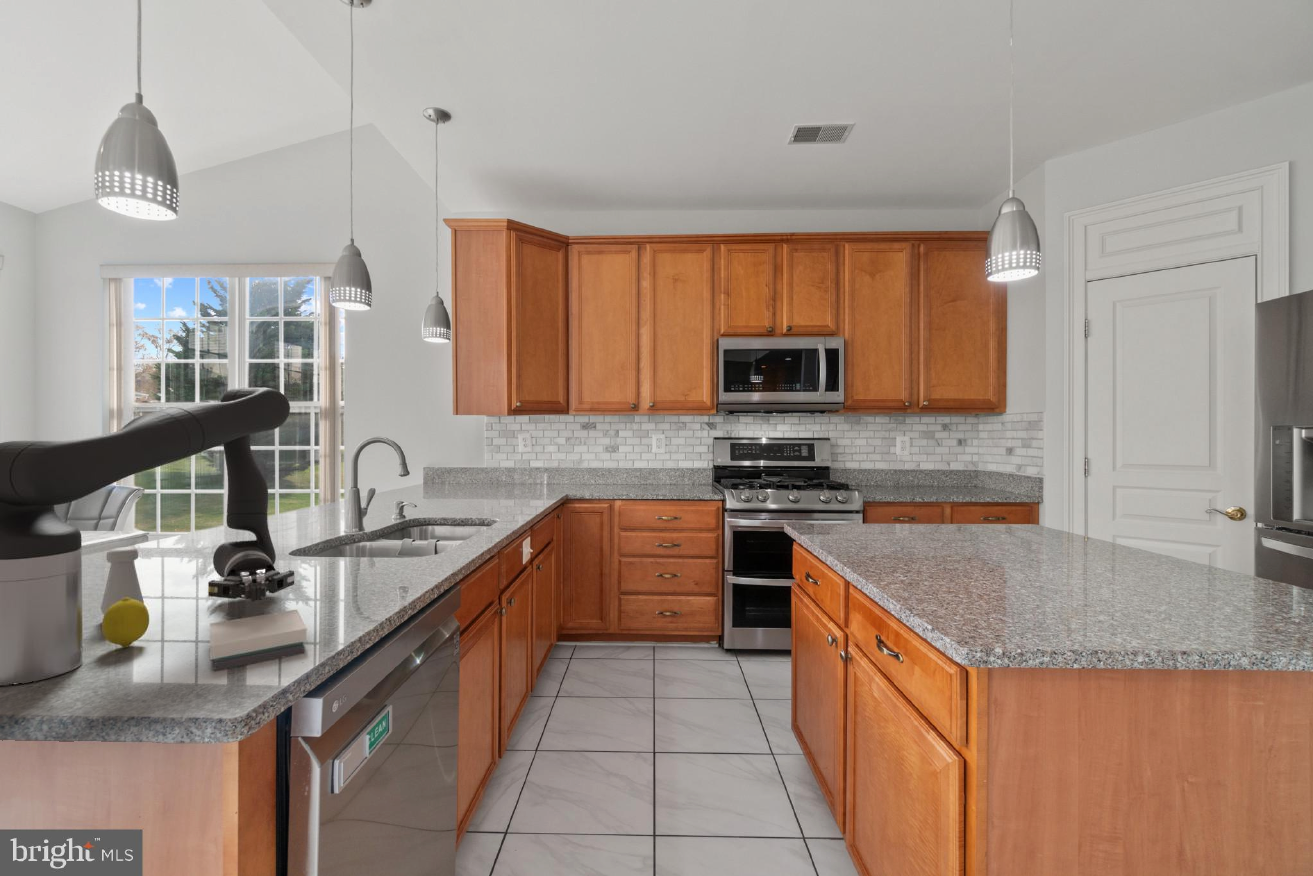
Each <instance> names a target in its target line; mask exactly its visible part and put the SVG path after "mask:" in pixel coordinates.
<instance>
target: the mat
mask: <svg viewBox="0 0 1313 876" xmlns="http://www.w3.org/2000/svg"><path fill="white" fill-rule="evenodd" d="M304 648H305V647H304V643H303V644H300V645H295V646H289V647H284V648H279V649H274V650H269V651H264V652H259V653H254V654H249V655H244V656H239V657H234V658H229V659H224V660H219V661H214V672H216V671H222V670H226V669H227V670H228V669H232V668H236V667H242V666H245V665H247V666H248V665H251V663H252V664H256V663H262V662H266V661H271V660H275V659H281V658H284V657H283V656H286V657H290V655H291V656H294V655H293V654H295V655H300V654H303V653H305V649H304ZM299 653H300V654H299ZM261 661H262V662H261ZM241 665H242V666H241Z"/></svg>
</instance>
